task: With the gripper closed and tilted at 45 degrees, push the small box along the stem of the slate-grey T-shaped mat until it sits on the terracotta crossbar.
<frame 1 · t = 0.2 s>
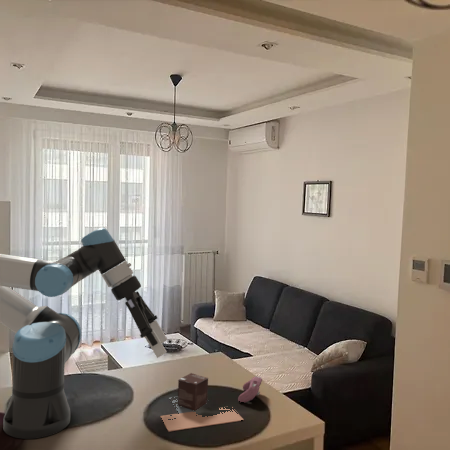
hand: (162, 348, 126), 15 cm above the table, tool tilted 35°, fingers open, 13 cm apart
t mat: (202, 418, 120), on the table
box: (192, 405, 127), resting on t mat
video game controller: (250, 398, 135), on the table
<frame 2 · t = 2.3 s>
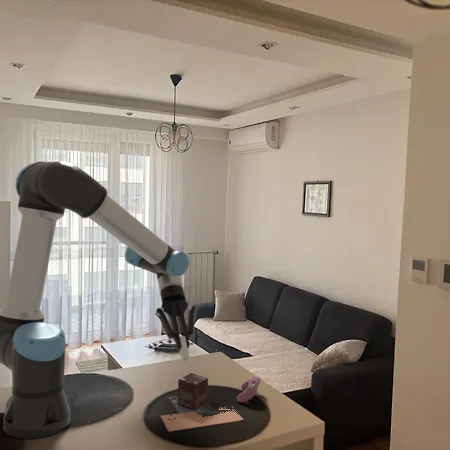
hand: (185, 358, 136), 10 cm above the table, tool tilted 45°, fingers closed
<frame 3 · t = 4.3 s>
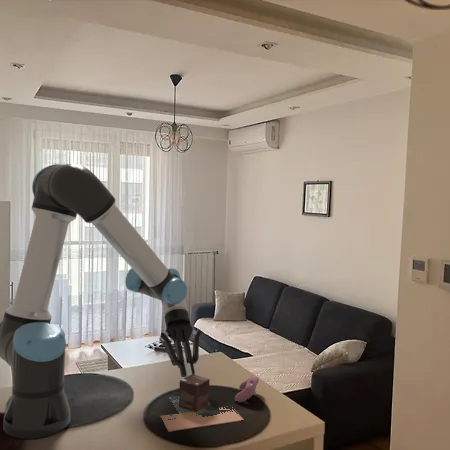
hand: (190, 387, 131), 3 cm above the table, tool tilted 45°, fingers closed
box: (193, 406, 127), resting on t mat
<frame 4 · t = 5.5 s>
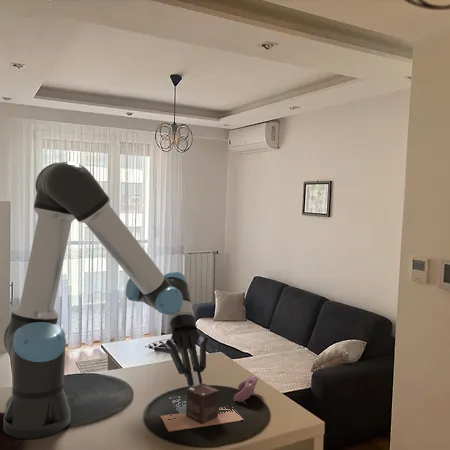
hand: (197, 396, 125), 3 cm above the table, tool tilted 45°, fingers closed
box: (201, 417, 120), resting on t mat, touching gripper
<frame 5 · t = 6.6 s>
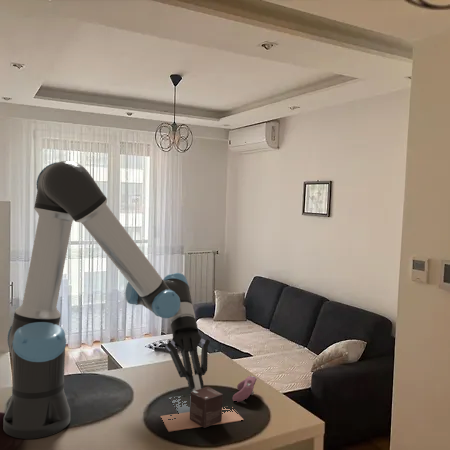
hand: (199, 400, 123), 4 cm above the table, tool tilted 45°, fingers closed
box: (205, 421, 119), resting on t mat, touching gripper
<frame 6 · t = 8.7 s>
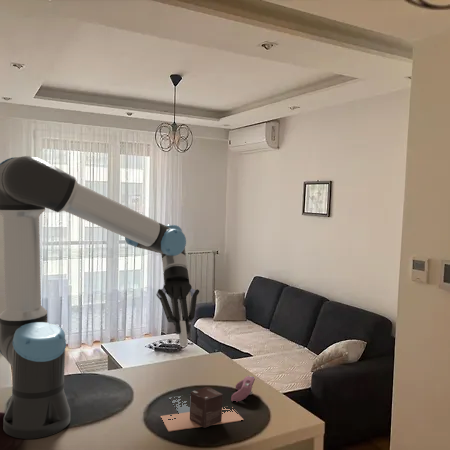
hand: (184, 344, 129), 16 cm above the table, tool tilted 40°, fingers closed
box: (205, 421, 119), resting on t mat
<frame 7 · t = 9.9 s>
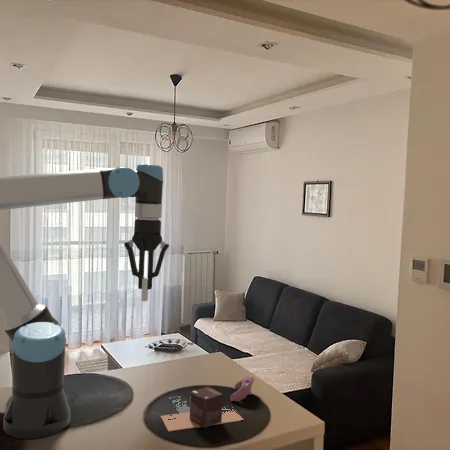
hand: (144, 300, 135), 26 cm above the table, tool pointing down, fingers closed
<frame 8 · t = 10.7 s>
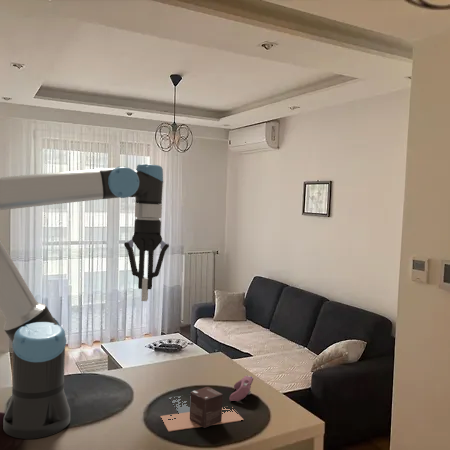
hand: (144, 300, 135), 26 cm above the table, tool pointing down, fingers closed
at the end: box inside the target area on the t mat (1.7 cm from its centre), point 0.0 cm above the t mat's base; box tilted 0°; box moved 9.7 cm from its start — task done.
